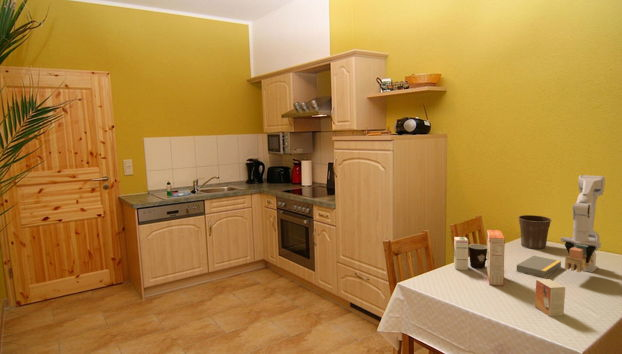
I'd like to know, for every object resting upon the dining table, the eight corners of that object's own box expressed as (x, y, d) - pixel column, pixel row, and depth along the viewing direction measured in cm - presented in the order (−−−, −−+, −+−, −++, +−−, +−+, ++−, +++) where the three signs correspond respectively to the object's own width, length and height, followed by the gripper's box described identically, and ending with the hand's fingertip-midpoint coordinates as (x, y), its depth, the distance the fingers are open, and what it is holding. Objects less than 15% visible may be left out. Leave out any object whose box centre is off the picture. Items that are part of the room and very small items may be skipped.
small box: (534, 306, 147) (535, 279, 146) (548, 305, 147) (549, 278, 146) (549, 316, 139) (550, 287, 138) (564, 315, 139) (565, 286, 138)
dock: (533, 261, 197) (533, 255, 197) (560, 267, 188) (561, 261, 188) (516, 271, 184) (516, 264, 184) (544, 277, 175) (545, 271, 175)
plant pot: (550, 252, 212) (551, 222, 210) (516, 248, 220) (517, 219, 218) (550, 244, 226) (551, 216, 224) (518, 241, 234) (519, 214, 232)
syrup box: (468, 270, 187) (469, 240, 185) (455, 269, 188) (455, 239, 186) (466, 266, 192) (466, 237, 191) (453, 265, 194) (453, 236, 192)
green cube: (579, 251, 179) (579, 243, 178) (589, 253, 176) (590, 244, 175) (576, 253, 176) (576, 244, 176) (586, 255, 173) (587, 246, 172)
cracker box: (485, 273, 182) (486, 229, 179) (500, 275, 180) (501, 230, 177) (488, 285, 168) (489, 237, 166) (504, 286, 166) (505, 238, 164)
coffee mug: (467, 268, 189) (468, 248, 188) (468, 263, 197) (468, 243, 196) (494, 271, 185) (495, 250, 184) (493, 265, 193) (494, 245, 191)
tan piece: (578, 259, 181) (579, 248, 181) (592, 262, 177) (593, 250, 176) (564, 269, 169) (565, 256, 169) (579, 272, 165) (580, 259, 165)
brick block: (572, 256, 172) (572, 247, 172) (582, 258, 169) (583, 249, 169) (569, 258, 170) (569, 249, 169) (579, 260, 167) (580, 251, 166)
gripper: (558, 229, 174) (557, 259, 176) (598, 235, 164) (596, 267, 165) (564, 226, 179) (563, 255, 181) (603, 232, 168) (601, 263, 170)
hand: (579, 260), depth 173 cm, fingers closed on tan piece, 5 cm apart
